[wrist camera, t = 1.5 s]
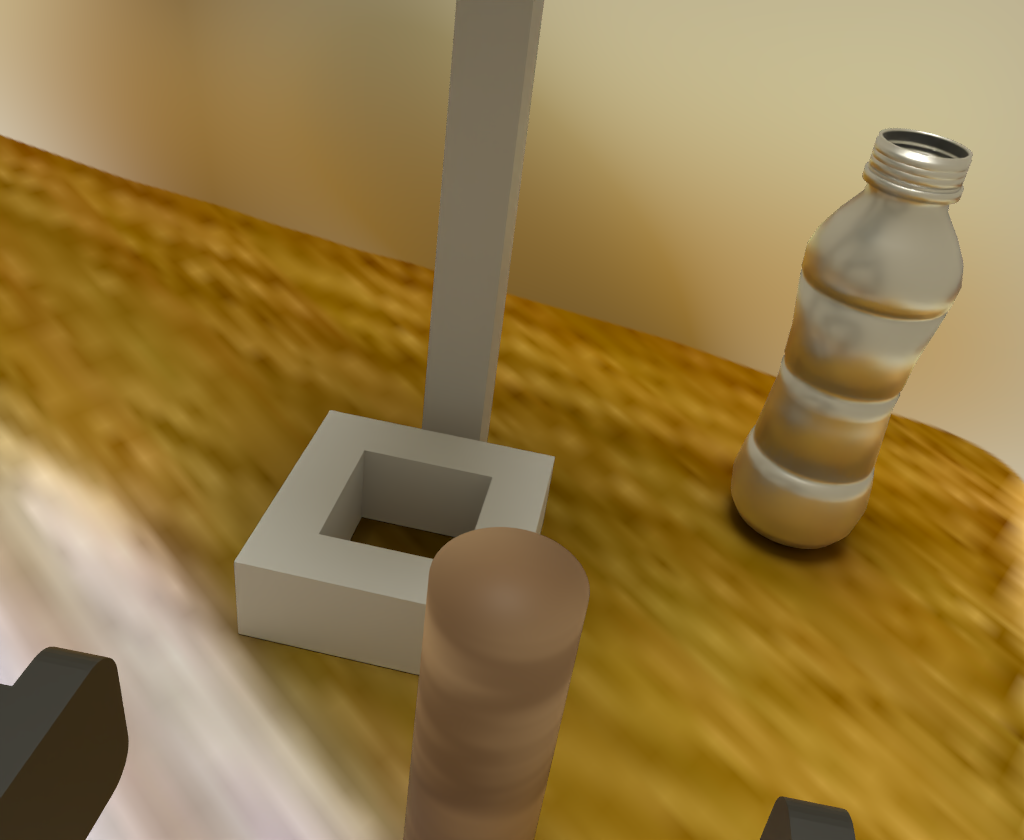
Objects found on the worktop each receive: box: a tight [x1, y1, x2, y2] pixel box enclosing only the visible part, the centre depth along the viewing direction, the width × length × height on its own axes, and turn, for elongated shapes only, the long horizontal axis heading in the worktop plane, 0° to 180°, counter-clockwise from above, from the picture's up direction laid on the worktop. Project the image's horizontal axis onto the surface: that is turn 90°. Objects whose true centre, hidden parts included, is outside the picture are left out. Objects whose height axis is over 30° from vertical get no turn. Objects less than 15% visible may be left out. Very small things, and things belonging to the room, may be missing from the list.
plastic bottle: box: [731, 128, 973, 549], centre depth 44 cm, size 6×7×20 cm
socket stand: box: [234, 0, 555, 675], centre depth 37 cm, size 18×14×32 cm
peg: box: [403, 527, 590, 840], centre depth 28 cm, size 4×4×14 cm
